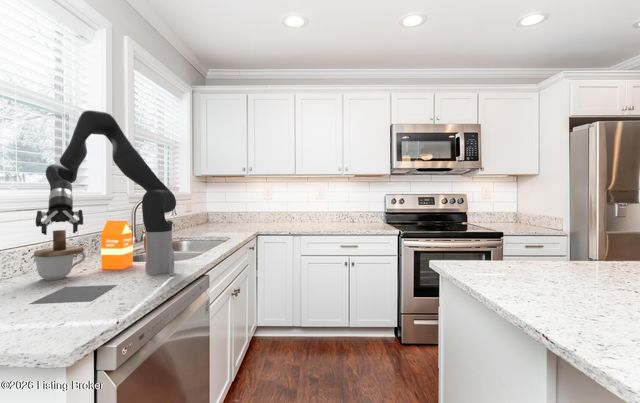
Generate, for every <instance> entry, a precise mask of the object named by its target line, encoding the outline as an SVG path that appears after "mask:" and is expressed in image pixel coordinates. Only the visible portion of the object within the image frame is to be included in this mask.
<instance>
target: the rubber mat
mask: <svg viewBox="0 0 640 403" xmlns="http://www.w3.org/2000/svg"><path fill="white" fill-rule="evenodd" d="M117 286H118V284H107V285H106V284H105V285H103V284H102V285H82V286H81V285H78V286H76V285H75V286H64V287H63V288H60V289H57V290H56V291H55V290H54V292H51V293H50V294H47V295H45V296H43V297H40V298H38V299H36V300H34V301H32V302H30V303H29V305H40V304H60V303H62V304H64V303H86V302H87V303H88V302H93V301H95V300H97V299H98V298H99V297H101V296H103V295H104V294H106V293H107V292H109V291H112V289H114V288H115V287H117Z"/></svg>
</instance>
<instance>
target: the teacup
mask: <svg viewBox="0 0 640 403" xmlns="http://www.w3.org/2000/svg"><path fill="white" fill-rule="evenodd" d="M79 255H82V258H81V259H80V260H79V261H77V262H74V258H75V259H77V257H78V256H79ZM32 257H33V258H34V259H35V262H36V268H37V269H36V270H37V273H38V275H39V277H40V278H41V279H43V280H45V281H57V280H58V281H59V280H61V279H62V280H63V279H65V278H66V277H67V276H69V274H70V273H71V272H72V269H73V268H74V267H75V266H77V265H80V264H81V263H83V262H84V261H85V259H86V254H85V252H84V251H83V252H81V253H77V254H72V255H65V256H56V257H36V256H34V254H33V255H32ZM73 262H74V263H73Z"/></svg>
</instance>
